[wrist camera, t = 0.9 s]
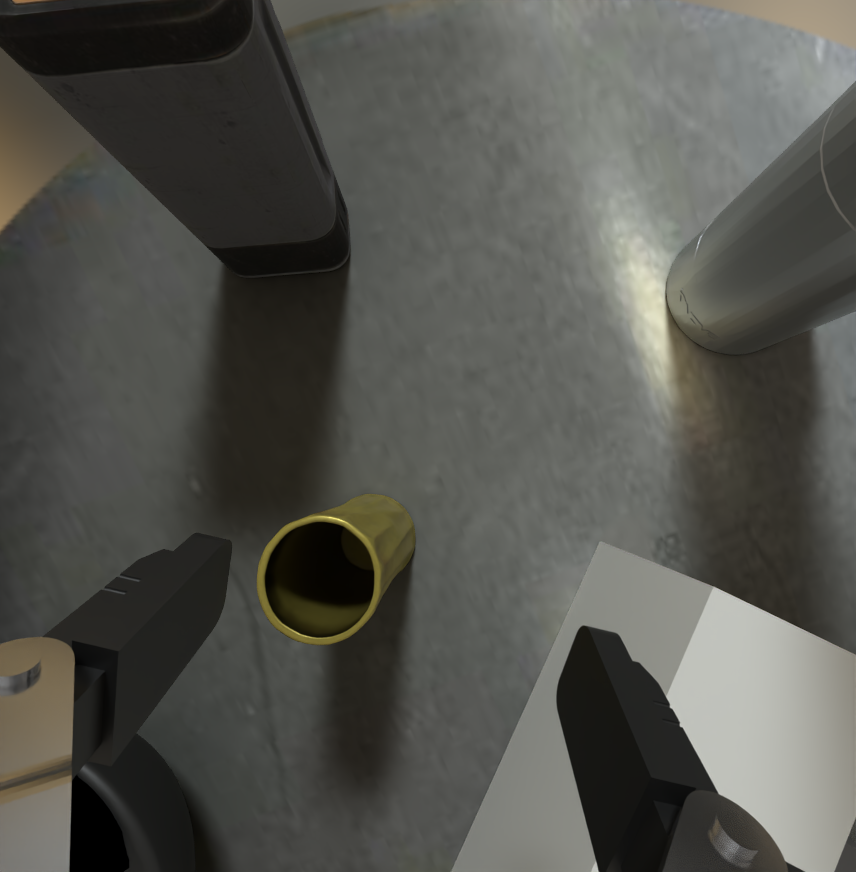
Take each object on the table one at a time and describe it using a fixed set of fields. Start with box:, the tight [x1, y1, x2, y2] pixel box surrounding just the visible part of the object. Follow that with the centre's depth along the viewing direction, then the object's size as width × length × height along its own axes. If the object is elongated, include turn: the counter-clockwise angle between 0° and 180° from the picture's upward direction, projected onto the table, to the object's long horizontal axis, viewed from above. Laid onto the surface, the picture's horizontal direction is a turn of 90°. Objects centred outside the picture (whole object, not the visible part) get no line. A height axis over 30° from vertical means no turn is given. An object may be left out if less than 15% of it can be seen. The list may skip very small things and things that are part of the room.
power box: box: [451, 541, 856, 872], centre depth 25 cm, size 8×30×14 cm, turn 154°
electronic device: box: [0, 0, 350, 278], centre depth 26 cm, size 9×6×20 cm, turn 94°
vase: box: [257, 494, 415, 645], centre depth 26 cm, size 6×6×14 cm
